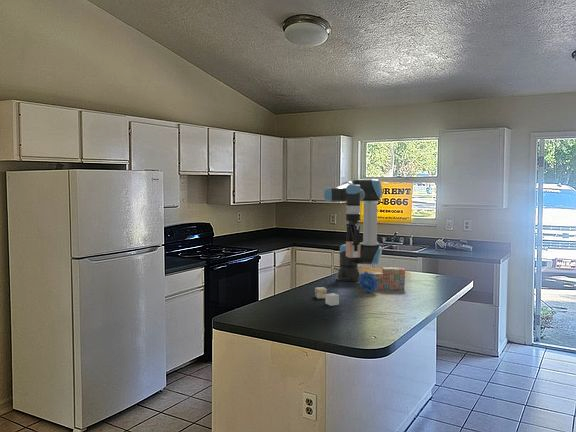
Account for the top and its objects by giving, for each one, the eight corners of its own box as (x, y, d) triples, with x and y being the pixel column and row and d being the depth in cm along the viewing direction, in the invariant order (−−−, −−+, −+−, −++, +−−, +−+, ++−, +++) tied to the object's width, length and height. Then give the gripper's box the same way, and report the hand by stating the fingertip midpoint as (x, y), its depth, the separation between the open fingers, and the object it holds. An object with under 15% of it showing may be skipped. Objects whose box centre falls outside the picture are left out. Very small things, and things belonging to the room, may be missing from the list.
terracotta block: (345, 256, 274) (345, 241, 273) (356, 255, 275) (356, 241, 274) (349, 257, 268) (349, 242, 267) (360, 257, 269) (360, 242, 269)
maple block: (315, 296, 277) (315, 287, 276) (323, 296, 278) (323, 287, 277) (317, 298, 272) (317, 289, 271) (326, 298, 273) (326, 289, 273)
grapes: (355, 293, 285) (355, 272, 285) (359, 290, 291) (359, 270, 291) (375, 295, 280) (375, 273, 279) (379, 292, 286) (379, 271, 285)
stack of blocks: (367, 289, 296) (368, 268, 295) (366, 287, 302) (367, 266, 301) (404, 290, 294) (405, 269, 293) (403, 287, 300) (403, 267, 300)
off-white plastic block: (325, 303, 260) (325, 294, 260) (333, 302, 263) (333, 293, 263) (330, 305, 256) (330, 296, 256) (339, 304, 259) (339, 295, 258)
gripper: (340, 212, 278) (340, 254, 280) (353, 214, 260) (352, 259, 261) (353, 212, 280) (352, 253, 281) (366, 214, 262) (366, 258, 263)
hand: (352, 256), depth 271 cm, fingers closed on terracotta block, 6 cm apart
